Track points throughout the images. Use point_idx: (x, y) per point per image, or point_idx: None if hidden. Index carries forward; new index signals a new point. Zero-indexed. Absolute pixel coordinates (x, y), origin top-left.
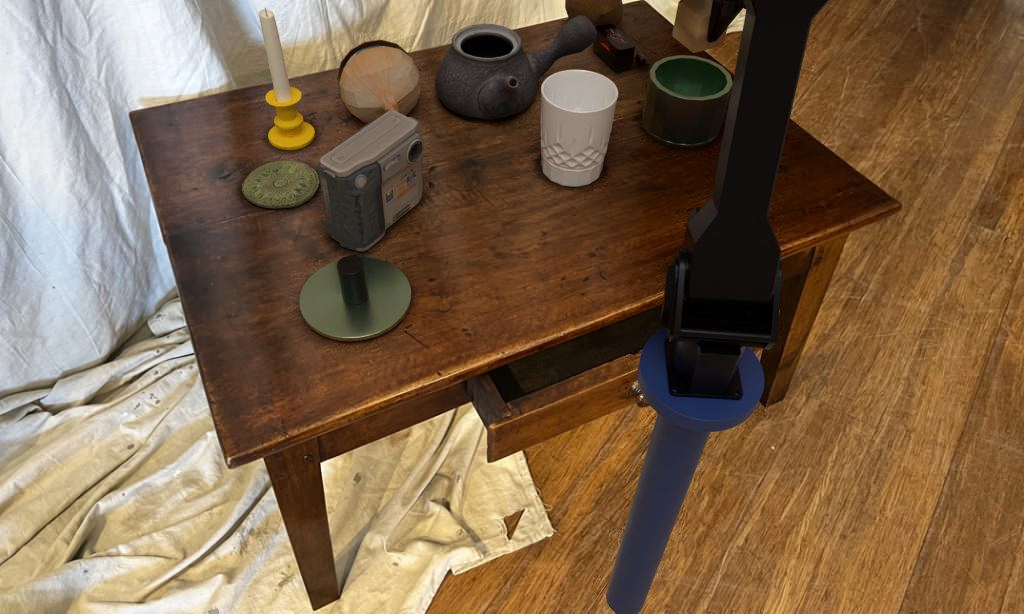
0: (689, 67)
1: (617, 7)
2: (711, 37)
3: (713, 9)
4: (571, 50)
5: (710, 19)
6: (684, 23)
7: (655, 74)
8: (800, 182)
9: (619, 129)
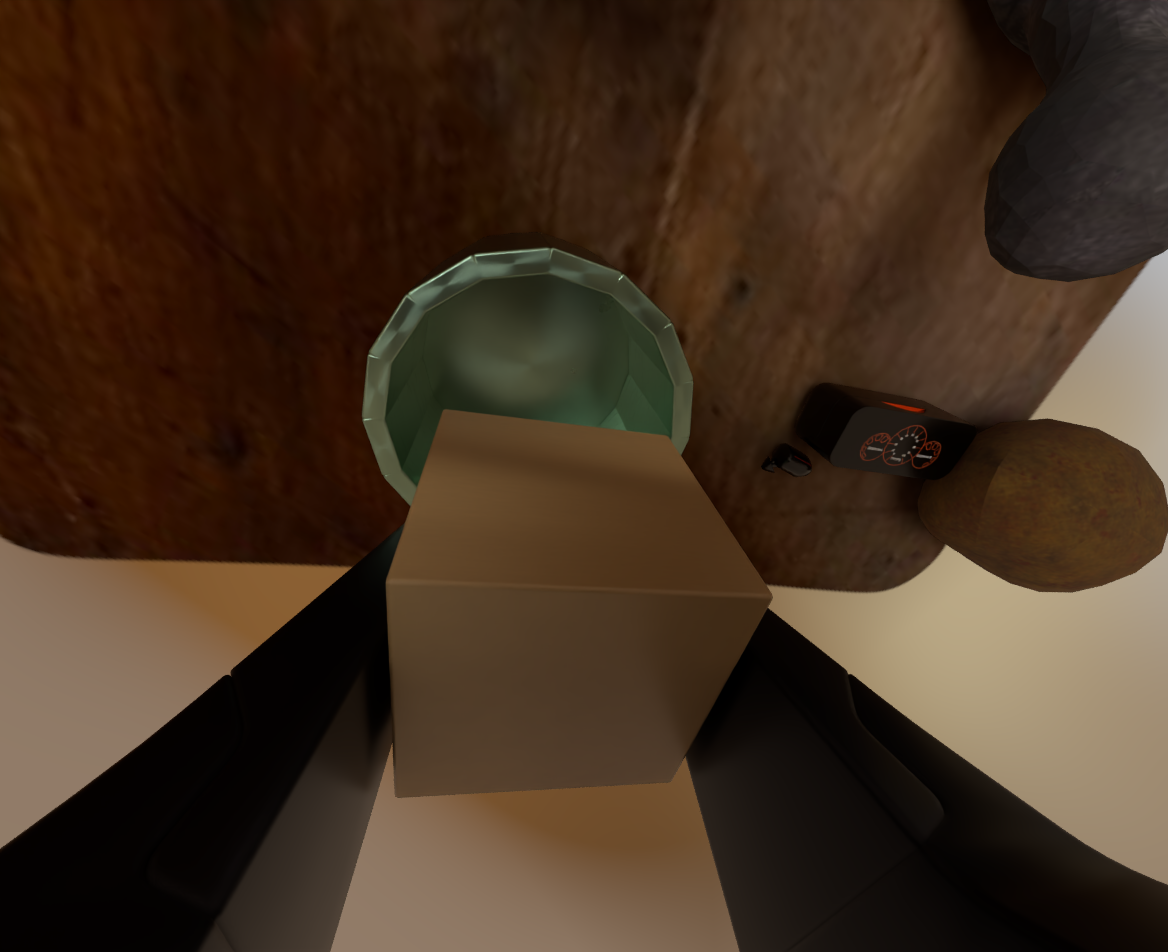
0: None
1: (972, 521)
2: (384, 546)
3: (248, 759)
4: (1051, 95)
5: (360, 637)
6: (601, 494)
7: (653, 346)
8: (149, 448)
9: (624, 168)
